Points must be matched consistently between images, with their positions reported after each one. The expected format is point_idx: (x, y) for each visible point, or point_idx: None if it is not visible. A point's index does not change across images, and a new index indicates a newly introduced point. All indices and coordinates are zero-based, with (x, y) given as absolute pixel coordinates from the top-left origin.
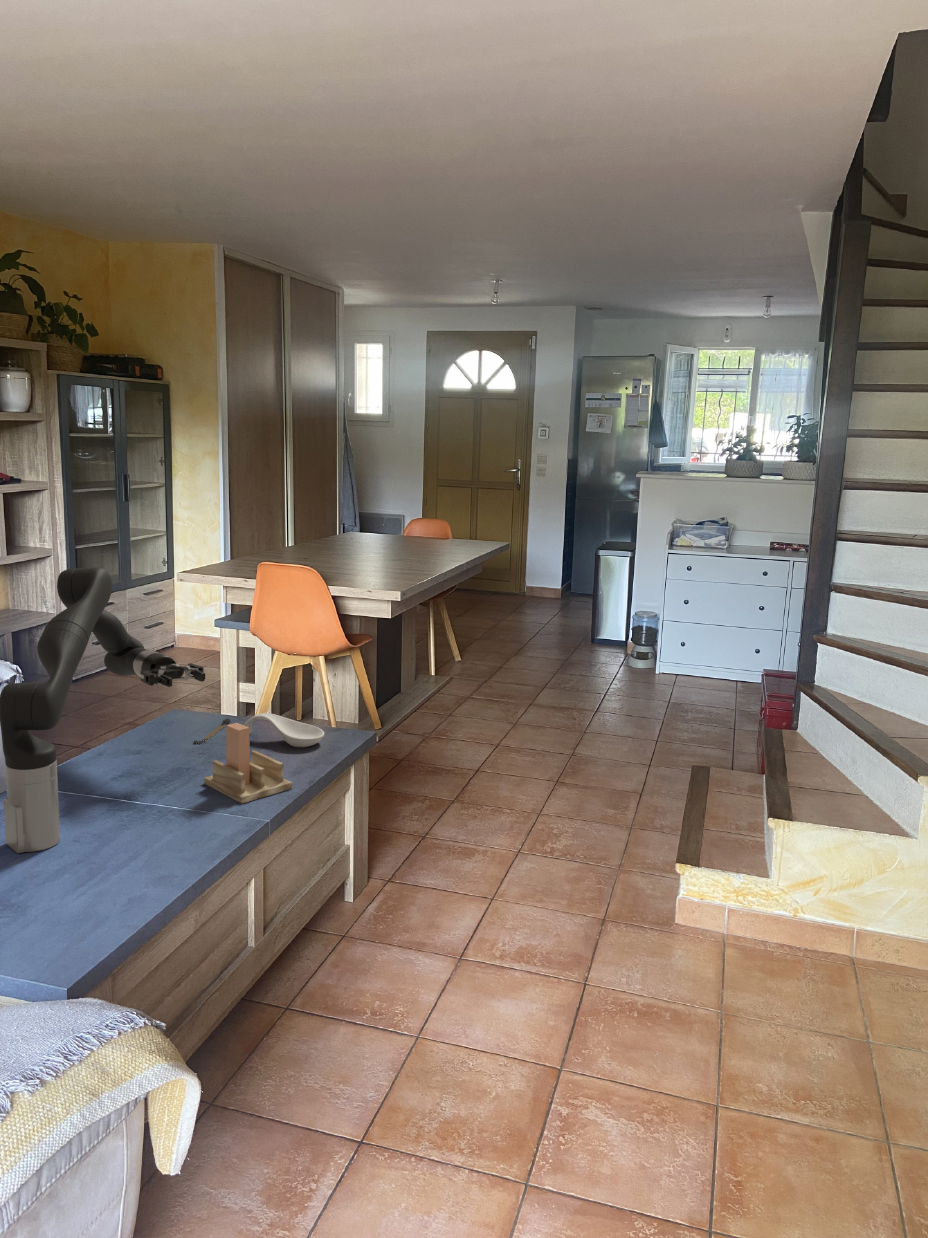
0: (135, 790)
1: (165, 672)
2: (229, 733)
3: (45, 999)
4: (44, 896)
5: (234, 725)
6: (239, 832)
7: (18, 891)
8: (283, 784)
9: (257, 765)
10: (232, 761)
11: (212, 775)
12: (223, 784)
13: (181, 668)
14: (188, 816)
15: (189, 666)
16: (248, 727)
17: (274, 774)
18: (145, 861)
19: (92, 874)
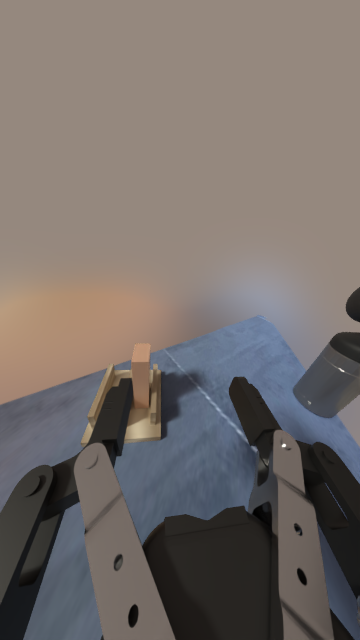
0: (242, 479)
1: (263, 525)
2: (149, 363)
3: (260, 315)
4: (278, 347)
5: (141, 356)
6: (184, 346)
7: (292, 355)
8: (118, 370)
9: (130, 372)
10: (149, 380)
11: (149, 436)
12: (156, 401)
13: (145, 554)
14: (203, 377)
15: (86, 532)
16: (135, 344)
17: (112, 380)
18: (235, 348)
19: (260, 350)
